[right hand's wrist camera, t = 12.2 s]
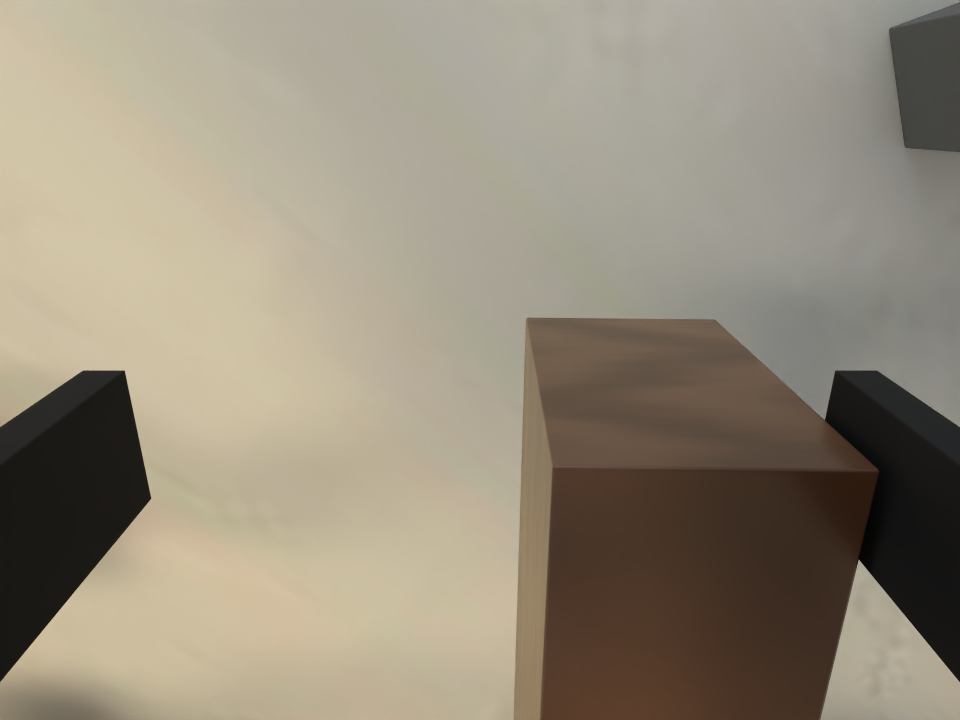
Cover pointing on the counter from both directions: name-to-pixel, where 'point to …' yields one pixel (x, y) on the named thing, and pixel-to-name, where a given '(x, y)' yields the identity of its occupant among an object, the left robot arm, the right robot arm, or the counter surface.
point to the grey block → (929, 79)
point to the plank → (677, 528)
